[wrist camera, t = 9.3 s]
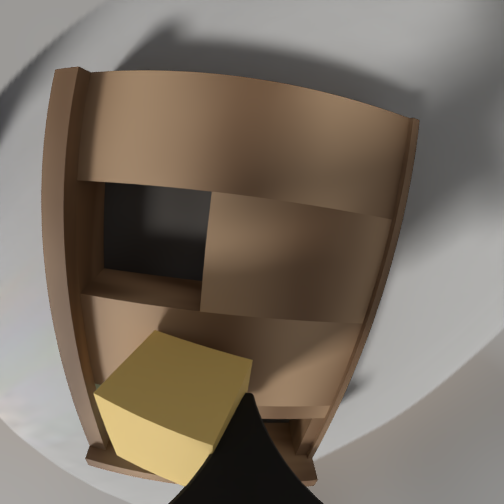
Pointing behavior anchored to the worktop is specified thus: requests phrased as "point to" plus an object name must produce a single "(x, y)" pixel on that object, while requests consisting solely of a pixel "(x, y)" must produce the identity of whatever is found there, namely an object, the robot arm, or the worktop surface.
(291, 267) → the box
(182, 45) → the worktop surface
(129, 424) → the ochre block
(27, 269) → the worktop surface
